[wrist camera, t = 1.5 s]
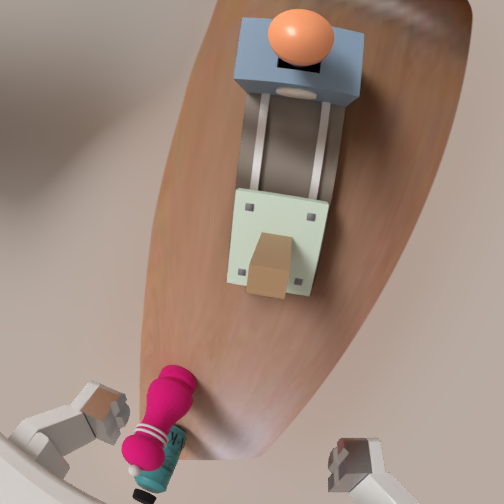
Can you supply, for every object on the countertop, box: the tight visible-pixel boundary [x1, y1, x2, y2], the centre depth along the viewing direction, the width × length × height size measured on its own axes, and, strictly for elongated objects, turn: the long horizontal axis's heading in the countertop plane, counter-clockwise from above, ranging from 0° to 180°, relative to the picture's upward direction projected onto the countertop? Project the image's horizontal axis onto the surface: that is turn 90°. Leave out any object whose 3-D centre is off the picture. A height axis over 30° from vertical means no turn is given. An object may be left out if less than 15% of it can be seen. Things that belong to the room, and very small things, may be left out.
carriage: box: [227, 188, 329, 299], centre depth 26 cm, size 10×9×10 cm
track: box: [227, 93, 345, 287], centre depth 29 cm, size 20×10×2 cm, turn 173°
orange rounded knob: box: [268, 9, 334, 68], centre depth 17 cm, size 4×4×5 cm
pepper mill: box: [122, 365, 197, 477], centre depth 34 cm, size 7×7×20 cm
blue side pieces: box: [234, 18, 364, 107], centre depth 22 cm, size 6×10×8 cm, turn 83°
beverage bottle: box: [133, 426, 187, 504], centre depth 41 cm, size 6×7×20 cm
